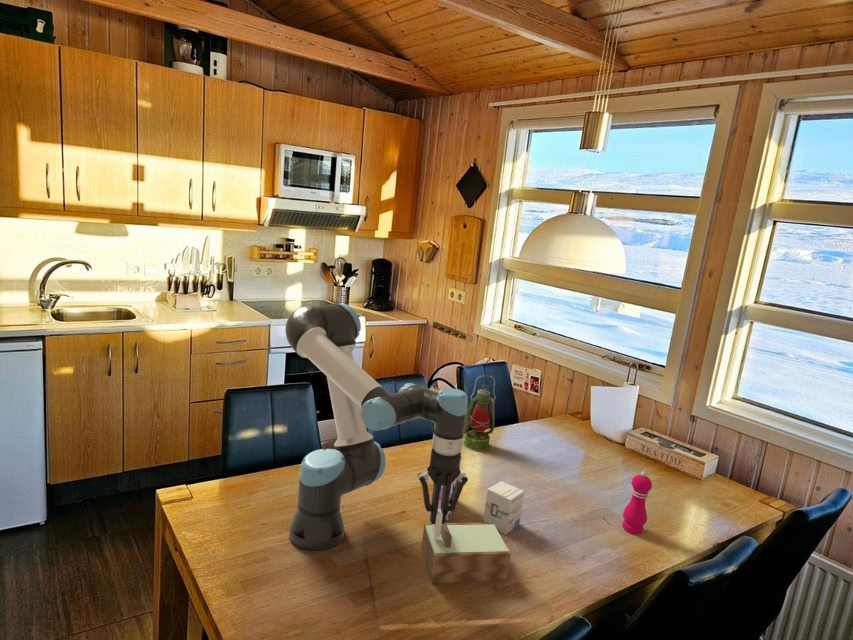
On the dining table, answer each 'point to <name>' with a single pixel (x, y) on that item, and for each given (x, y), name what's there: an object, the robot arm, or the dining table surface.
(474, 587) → the dining table surface
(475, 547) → the lid
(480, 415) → the lantern
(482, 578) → the box
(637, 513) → the pepper mill
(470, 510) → the dining table surface
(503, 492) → the ink box
